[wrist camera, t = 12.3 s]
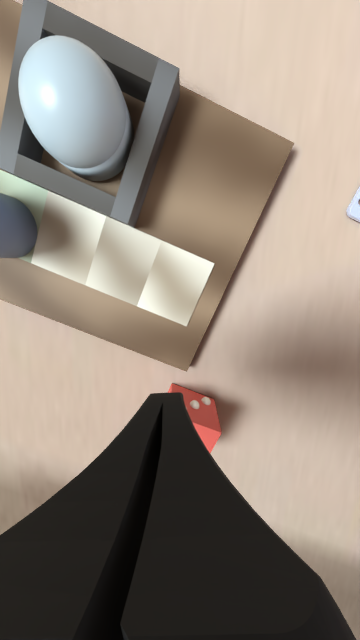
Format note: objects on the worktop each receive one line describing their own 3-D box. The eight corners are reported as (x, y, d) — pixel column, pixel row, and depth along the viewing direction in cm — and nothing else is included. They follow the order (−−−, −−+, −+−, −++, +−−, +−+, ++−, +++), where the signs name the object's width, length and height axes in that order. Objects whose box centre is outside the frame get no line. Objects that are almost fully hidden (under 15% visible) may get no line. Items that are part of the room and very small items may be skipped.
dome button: (67, 73, 13) (1, -35, 8) (147, 112, 14) (127, 31, 9) (47, 163, 14) (-22, 114, 10) (120, 196, 15) (90, 165, 10)
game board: (-66, -27, 13) (-138, -110, 10) (287, 150, 15) (312, 123, 12) (-93, 257, 17) (-150, 256, 14) (186, 365, 19) (187, 384, 16)
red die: (173, 379, 19) (171, 412, 15) (215, 395, 20) (225, 432, 15) (155, 419, 20) (148, 461, 16) (195, 434, 21) (199, 478, 16)
